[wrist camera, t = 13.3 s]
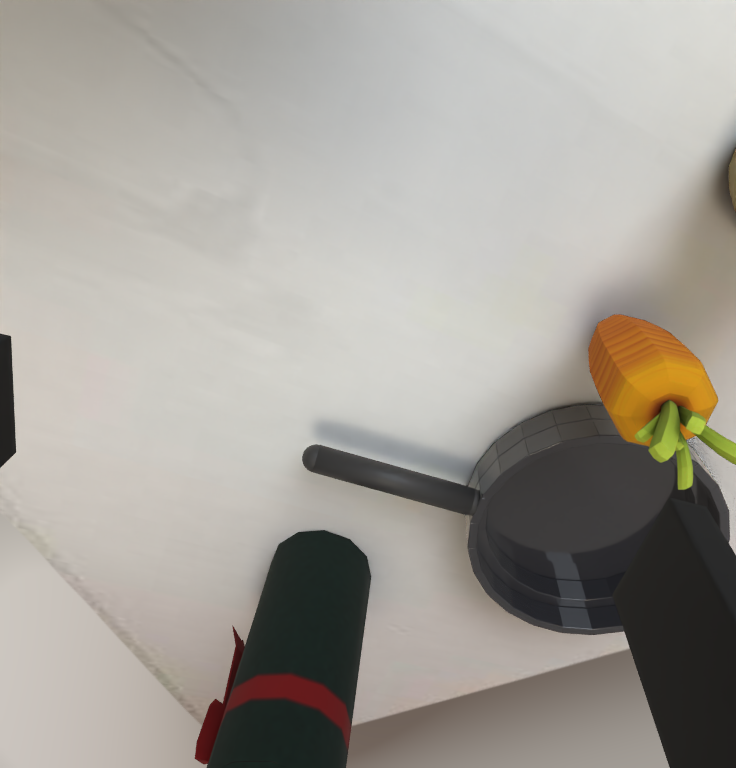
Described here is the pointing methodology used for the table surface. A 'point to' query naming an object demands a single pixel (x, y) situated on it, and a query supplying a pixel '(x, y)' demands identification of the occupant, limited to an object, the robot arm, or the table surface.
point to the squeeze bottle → (733, 179)
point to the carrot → (655, 391)
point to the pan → (571, 516)
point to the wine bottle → (295, 663)
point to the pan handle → (391, 479)
